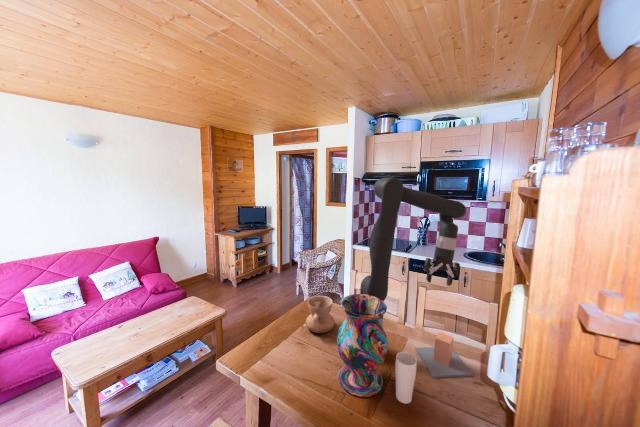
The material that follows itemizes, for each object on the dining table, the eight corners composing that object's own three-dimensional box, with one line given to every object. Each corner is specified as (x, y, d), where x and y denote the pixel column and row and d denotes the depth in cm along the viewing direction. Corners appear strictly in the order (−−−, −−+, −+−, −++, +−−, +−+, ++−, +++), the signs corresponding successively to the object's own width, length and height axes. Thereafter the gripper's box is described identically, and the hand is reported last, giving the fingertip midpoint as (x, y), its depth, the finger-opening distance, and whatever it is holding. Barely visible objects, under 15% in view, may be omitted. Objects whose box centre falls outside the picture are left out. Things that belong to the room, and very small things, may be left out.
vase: (371, 410, 82) (376, 324, 78) (326, 382, 93) (327, 305, 89) (393, 375, 97) (397, 302, 92) (351, 355, 108) (353, 288, 103)
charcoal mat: (433, 377, 96) (433, 375, 96) (414, 349, 112) (415, 347, 112) (473, 376, 97) (473, 374, 97) (449, 348, 113) (449, 346, 113)
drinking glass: (390, 390, 90) (392, 351, 88) (408, 389, 91) (411, 351, 88) (397, 407, 83) (400, 366, 81) (417, 406, 84) (420, 365, 82)
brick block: (447, 366, 101) (450, 343, 99) (433, 360, 104) (435, 338, 103) (451, 359, 105) (453, 337, 103) (437, 353, 108) (439, 331, 107)
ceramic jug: (312, 316, 137) (311, 291, 135) (338, 320, 133) (338, 295, 131) (299, 336, 120) (299, 308, 118) (329, 342, 116) (329, 313, 114)
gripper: (432, 246, 106) (425, 283, 106) (466, 251, 105) (459, 289, 106) (425, 243, 113) (419, 278, 114) (457, 248, 113) (450, 283, 114)
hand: (438, 283), depth 110 cm, fingers open, 8 cm apart
